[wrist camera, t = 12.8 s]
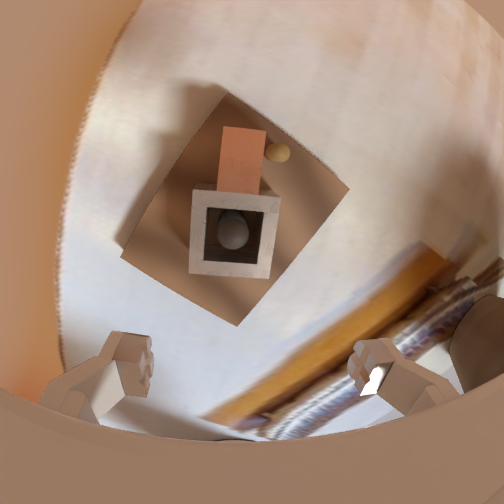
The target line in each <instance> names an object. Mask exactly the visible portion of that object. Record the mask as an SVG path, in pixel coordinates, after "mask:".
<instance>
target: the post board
mask: <svg viewBox="0 0 504 504" xmlns="http://www.w3.org/2000/svg"><path fill="white" fill-rule="evenodd" d="M223 126H226V127H237V128H246V129H255V130H262V131H266V138H265V146H264V154H263V162H262V169H261V177H260V185H259V188H263V189H272V190H273V191H274V192H275V193H277V194H278V195H279V196H280V197H281V203H280V210H279V216H278V223H277V230H276V236H275V243H274V249H273V256H272V262H271V268H270V275H269V279H261V278H245V277H230V276H216V275H202V274H190V273H189V248H190V226H191V209H192V194H193V189H194V187H195V186H196V185H197V184H198V183H209V184H217V181H218V171H219V161H220V152H221V143H222V135H223ZM349 190H350V189H349V188H348V187H347V186H346V185H345V184H344V183H343V182H342V181H341V180H339V179H338V178H337V177H336V176H335V175H334V174H333V173H332V172H331V171H329V170H328V169H327V168H326V167H325V166H324V165H323V164H321V163H320V162H319V161H318V160H317V159H316V158H314V157H313V156H312V155H311V154H310V153H308V152H307V151H306V150H305V149H304V148H302V147H301V146H300V145H299V144H298V143H296V142H295V141H294V140H293V139H291V138H290V137H289V136H287V135H286V134H285V133H284V132H282V131H281V130H280V129H278V128H277V127H276V126H274V125H273V124H272V123H270V122H269V121H268V120H266V119H265V118H264V117H262V116H261V115H260V114H258V113H257V112H255V111H254V110H253V109H251V108H250V107H248V106H247V105H245V104H244V103H243V102H241V101H240V100H238V99H237V98H235V97H234V96H232V95H231V94H229V93H228V94H227V95H226V96H225V97H224V98H223V100H222V101H221V102H220V103H219V105H218V106H217V107H216V108H215V110H214V111H213V112H212V113H211V115H210V116H209V117H208V119H207V120H206V121H205V123H204V124H203V125H202V127H201V128H200V129H199V131H198V132H197V133H196V135H195V136H194V137H193V139H192V140H191V142H190V143H189V144H188V146H187V147H186V149H185V150H184V152H183V153H182V154H181V156H180V157H179V159H178V160H177V162H176V163H175V165H174V166H173V168H172V169H171V171H170V172H169V174H168V175H167V177H166V178H165V180H164V182H163V183H162V185H161V186H160V188H159V189H158V191H157V193H156V194H155V196H154V198H153V199H152V201H151V202H150V204H149V206H148V208H147V209H146V211H145V213H144V214H143V216H142V218H141V220H140V221H139V223H138V225H137V227H136V228H135V230H134V232H133V234H132V236H131V238H130V239H129V241H128V243H127V245H126V247H125V249H124V251H123V253H122V255H121V256H120V257H121V258H122V259H124V260H125V261H127V262H128V263H130V264H131V265H133V266H135V267H136V268H138V269H139V270H141V271H142V272H144V273H145V274H147V275H149V276H150V277H152V278H153V279H155V280H157V281H158V282H160V283H161V284H163V285H165V286H166V287H168V288H170V289H171V290H173V291H175V292H176V293H178V294H180V295H181V296H183V297H185V298H186V299H188V300H190V301H192V302H193V303H195V304H197V305H199V306H200V307H202V308H204V309H206V310H207V311H209V312H211V313H213V314H215V315H216V316H218V317H220V318H222V319H224V320H226V321H227V322H229V323H231V324H233V325H235V326H238V325H239V324H240V323H241V322H242V321H243V319H244V318H245V317H246V316H247V315H248V314H249V312H250V311H251V310H252V309H253V308H254V307H255V306H256V304H257V303H258V302H259V301H260V300H261V298H262V297H263V296H264V295H265V294H266V293H267V291H268V290H269V289H270V288H271V287H272V286H273V284H274V283H275V282H276V281H277V280H278V278H279V277H280V276H281V275H282V274H283V272H284V271H285V270H286V269H287V268H288V266H289V265H290V264H291V263H292V261H293V260H294V259H295V258H296V257H297V255H298V254H299V253H300V252H301V250H302V249H303V248H304V247H305V246H306V244H307V243H308V242H309V241H310V239H311V238H312V237H313V236H314V234H315V233H316V232H317V231H318V229H319V228H320V227H321V226H322V224H323V223H324V222H325V220H326V219H327V218H328V217H329V215H330V214H331V213H332V212H333V210H334V209H335V208H336V206H337V205H338V204H339V203H340V201H341V200H342V199H343V197H344V196H345V195H346V193H347V192H348V191H349ZM256 213H257V211H249V210H238V209H226V208H214V207H209V212H208V225H207V240H206V243H213V244H221V245H222V246H224V247H225V248H228V249H238V248H240V247H242V246H251V247H252V244H253V237H254V229H255V221H256Z"/></svg>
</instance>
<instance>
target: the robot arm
mask: <svg viewBox="0 0 504 504" xmlns="http://www.w3.org/2000/svg"><path fill="white" fill-rule="evenodd" d="M151 346H152V342H151V337H150V336H146V335H139V334H133V333H127V332H120V331H114V330H113V331H112V332H111V333H110V335H109V336H108V338H107V340H106V342H105V344H104V346H103V348H102V350H101V352H100V354H99V356H98V357H95V356H94V357H93V358H91V359H89V360H87V361H86V362H84V363H82V364H80V365H78V366H77V367H75V368H73V369H71V370H69V371H68V372H66V373H64V374H62V375H61V376H59V377H57V378H55V379H53V380H52V381H50V382H49V383H48V385H47V387H46V389H45V390H44V392H43V394H42V396H41V398H40V400H39V402H38V404H36V403H33V402H31V401H29V400H26V399H24V398H22V397H20V396H18V395H15V394H13V393H11V392H9V391H7V390H5V389H3V388H1V387H0V504H504V373H503V374H501V375H499V376H497V377H495V378H494V379H492V380H490V381H488V382H486V383H485V384H483V385H481V386H479V387H477V388H475V389H473V390H471V391H468V392H466V393H464V394H462V395H460V394H459V393H458V392H457V391H456V389H455V388H454V387H453V386H452V384H451V383H450V382H449V380H448V379H446V378H444V377H442V376H440V375H438V374H436V373H434V372H432V371H430V370H428V369H426V368H424V367H422V366H420V365H418V364H416V363H414V362H412V361H411V360H409V359H408V360H406V359H405V358H404V357H403V355H402V354H401V353H400V352H399V350H398V349H397V348H396V346H395V345H394V344H393V343H392V341H391V340H390V339H388V338H381V339H374V340H363V341H357V342H356V344H355V346H354V348H353V349H354V351H355V353H353V354H352V355H351V356H350V358H349V361H348V373H349V375H350V377H351V378H353V379H354V380H356V381H355V384H354V385H355V387H356V389H357V391H358V392H359V394H360V395H367V394H373V393H377V394H378V395H379V396H380V397H381V398H383V399H384V400H385V401H386V402H388V403H389V404H390V405H392V406H393V407H394V408H396V409H397V410H398V411H400V412H401V413H402V414H403V415H405V417H401V418H398V419H395V420H391V421H388V422H384V423H380V424H377V425H373V426H368V427H364V428H360V429H355V430H350V431H345V432H340V433H334V434H328V435H322V436H315V437H307V438H299V439H289V440H277V441H258V442H251V441H243V440H224V441H198V440H186V439H176V438H167V437H160V436H153V435H146V434H141V433H135V432H130V431H125V430H120V429H115V428H111V427H107V426H103V425H100V424H99V422H98V420H99V419H100V418H101V417H102V416H103V415H104V414H106V413H107V412H108V411H109V410H110V409H111V408H112V407H113V406H114V405H116V404H117V403H118V402H119V401H120V400H121V399H122V398H123V397H124V396H125V395H131V396H138V397H146V398H147V394H148V390H149V386H150V384H149V378H150V377H152V373H153V367H154V357H153V353H152V352H151V351H150V349H151Z"/></svg>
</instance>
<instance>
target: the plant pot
mask: <svg viewBox="0 0 504 504" xmlns="http://www.w3.org/2000/svg"><path fill="white" fill-rule="evenodd" d="M449 353H450V357H451V360H452V363H453V365H454V368H455V370H456V373H457V375H458V378H459V380H460V383H461V386H462V388H463V391H464V393H466V392H468V391H471V390H473V389H475V388H477V387H479V386H481V385H483V384H485V383H486V382H488V381H490V380H492V379H494V378H495V377H497V376H499V375H501V374H503V373H504V298H500V297H497V296H493V295H488V296H485V297H483V298H482V299H480V300H479V301H478V302H476V303H475V304H474V305H473V306H472V307H471V308H470V309H469V311H468V312H467V313H466V314H465V316H464V317H463V318H462V320H461V321H460V323H459V325H458V326H457V328H456V330H455V332H454V334H453V336H452V339H451V342H450V346H449Z"/></svg>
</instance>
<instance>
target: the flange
mask: <svg viewBox="0 0 504 504" xmlns="http://www.w3.org/2000/svg"><path fill="white" fill-rule="evenodd" d="M265 138H266V131H262V130H255V129H246V128H237V127H226V126H223V135H222V143H221V152H220V161H219V171H218V181H217V184H209V183H198V184H197V185H196V186H195V187H194V189H193V194H192V209H191V226H190V248H189V273H190V274H202V275H216V276H230V277H245V278H261V279H269V275H270V268H271V262H272V256H273V249H274V243H275V236H276V230H277V223H278V216H279V210H280V203H281V197H280V196H279V195H278V194H277V193H275V192H274V191H273V190H272V189H263V188H259V185H260V177H261V169H262V162H263V154H264V146H265ZM209 207H214V208H226V209H238V210H249V211H257V213H256V221H255V229H254V237H253V244H252V247H251V246H242V247H240V248H238V249H228V248H225V247H224V246H222V245H221V244H213V243H206V240H207V225H208V212H209Z"/></svg>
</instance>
